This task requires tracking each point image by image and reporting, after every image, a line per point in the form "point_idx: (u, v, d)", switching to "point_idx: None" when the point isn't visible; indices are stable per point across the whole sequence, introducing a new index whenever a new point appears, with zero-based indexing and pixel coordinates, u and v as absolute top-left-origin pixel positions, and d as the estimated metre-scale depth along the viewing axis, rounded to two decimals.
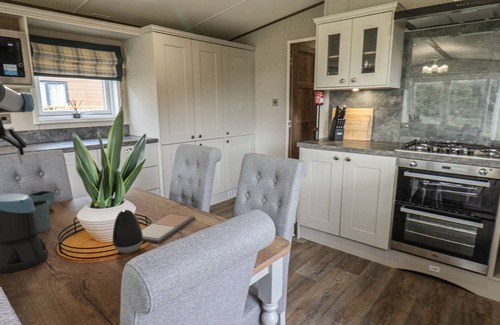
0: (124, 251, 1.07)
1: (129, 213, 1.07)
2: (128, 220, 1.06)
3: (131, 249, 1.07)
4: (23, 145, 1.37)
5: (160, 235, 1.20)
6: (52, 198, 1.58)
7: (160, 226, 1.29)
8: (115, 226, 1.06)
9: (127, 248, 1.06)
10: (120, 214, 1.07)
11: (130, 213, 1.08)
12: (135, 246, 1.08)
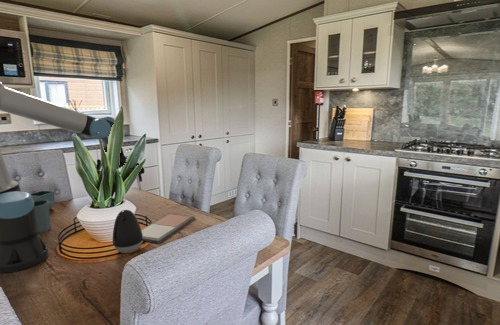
0: (124, 251, 1.07)
1: (129, 213, 1.07)
2: (128, 220, 1.06)
3: (131, 249, 1.07)
4: (142, 168, 1.28)
5: (160, 235, 1.20)
6: (52, 198, 1.58)
7: (160, 226, 1.29)
8: (115, 226, 1.06)
9: (127, 248, 1.06)
10: (120, 214, 1.07)
11: (130, 213, 1.08)
12: (135, 246, 1.08)
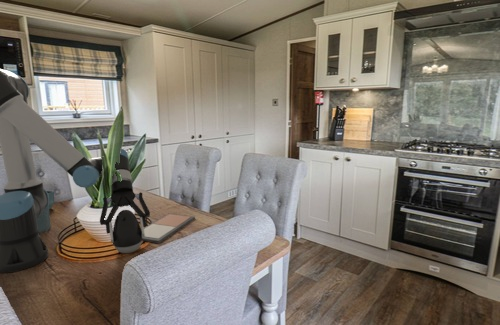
0: (124, 251, 1.07)
1: (129, 213, 1.07)
2: (128, 220, 1.06)
3: (131, 249, 1.07)
4: (147, 211, 1.13)
5: (160, 235, 1.20)
6: (52, 198, 1.58)
7: (160, 226, 1.29)
8: (115, 226, 1.06)
9: (127, 248, 1.06)
10: (120, 214, 1.07)
11: (130, 213, 1.08)
12: (135, 246, 1.08)
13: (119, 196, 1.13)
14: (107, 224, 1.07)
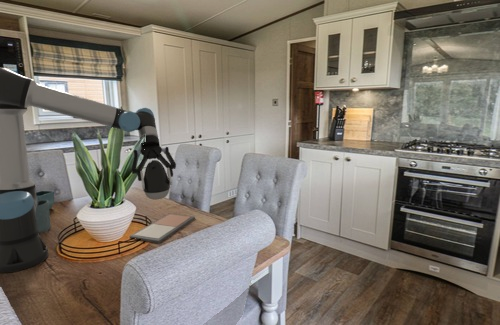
0: (154, 197, 1.17)
1: (158, 163, 1.18)
2: (157, 168, 1.17)
3: (160, 195, 1.18)
4: (173, 163, 1.24)
5: (160, 235, 1.20)
6: (52, 198, 1.58)
7: (160, 226, 1.29)
8: (146, 174, 1.17)
9: (156, 194, 1.17)
10: (150, 163, 1.17)
11: (159, 163, 1.18)
12: (163, 193, 1.18)
13: (148, 149, 1.23)
14: (138, 172, 1.18)
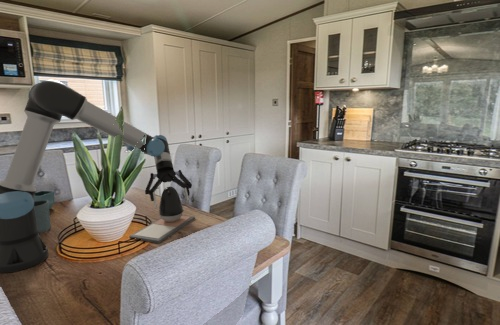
0: (169, 220, 1.31)
1: (173, 189, 1.32)
2: (173, 194, 1.31)
3: (175, 218, 1.31)
4: (189, 183, 1.39)
5: (160, 235, 1.20)
6: (52, 198, 1.58)
7: (160, 226, 1.29)
8: (162, 199, 1.31)
9: (171, 217, 1.31)
10: (166, 190, 1.31)
11: (173, 189, 1.32)
12: (178, 216, 1.32)
13: (163, 173, 1.37)
14: (151, 193, 1.31)
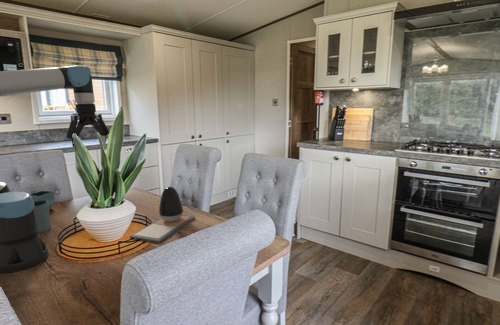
0: (169, 220, 1.31)
1: (173, 189, 1.32)
2: (173, 194, 1.31)
3: (175, 218, 1.31)
4: (107, 131, 1.42)
5: (160, 235, 1.20)
6: (52, 198, 1.58)
7: (160, 226, 1.29)
8: (162, 199, 1.30)
9: (171, 217, 1.31)
10: (166, 190, 1.31)
11: (173, 189, 1.32)
12: (178, 216, 1.32)
13: (88, 118, 1.31)
14: None
